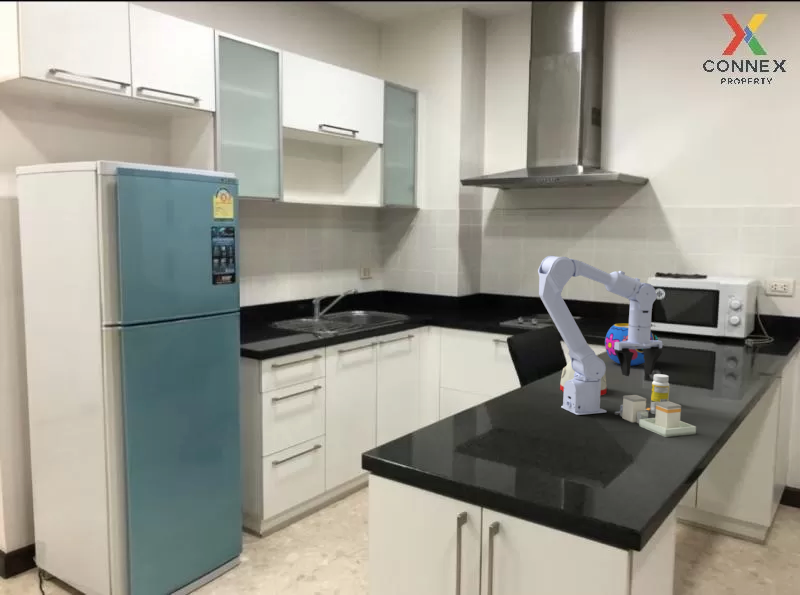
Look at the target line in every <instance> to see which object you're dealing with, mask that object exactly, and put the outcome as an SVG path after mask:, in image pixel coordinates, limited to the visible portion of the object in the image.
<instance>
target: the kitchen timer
mask: <svg viewBox="0 0 800 595" xmlns="http://www.w3.org/2000/svg"><path fill="white" fill-rule="evenodd" d="M574 374H575V371H574V370H573V369H572V366H571V359H570V360H569V361H568V363H567V364H566V366H564V367H563V368H562V371H561V378H560V383H559V384H560V387H559V390H560V391H561V390H562V391H561V392H563V393H564V384H565V382H566V381H568V380H571V379H573V378H574ZM606 377H607V376H606V373H605V374H604V376H603V377H602V378H601V392H600V396H604V395H606V394H607V389H608V388H607V378H606Z"/></svg>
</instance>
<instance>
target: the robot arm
mask: <svg viewBox="0 0 800 595" xmlns="http://www.w3.org/2000/svg"><path fill="white" fill-rule="evenodd" d="M537 273H538V276H539V277H538V295H539V298H540V300H541V301H542V303H543V305H544V307H545V309H546V310H547V312H548V314H549V316H550V318H551V320H552V322H553V323H554V325H555V327H556V329H557V331H558V332H559V334H560V336H561V338H562V340H563V341H564V343H565V345H566V347H567V349H568V356H569V358H570V360H571V366H572V369H573V370H574V371H575V374H574V378H573V379H571V380H568V381H566V382H565V384H564V392H563V394H562V396H563V397H562V398H563V399H562V405H561V407H560V408H561V409H564V410H566V411H567V412H570V413H572V414H574V415H576V416H580V415H592V414H593V415H595V414H603V413H607V410H606V409H603V408H600V407H601V395H600V392H601V378H602V377H603V376H604V374H605V375H606V371H607V368H606V366H607V365H606V364H605V361H604V360H603V359H602V358H600V357H599V356H598V355H597V354H596V352H595V351H594V350H593V349H592V348H591V346H590V345H589V344H588V343H587V340H586V339H585V337H584V336H583V333H582V331H581V329H580V328H579V326H578V324H577V323H576V321H575V319H574V317H573V315H572V313H571V312H570V310H569V308H568V305H567V304H566V301H564V298H563V296H562V292H563V291H564V290H563V289H564V287H565V286H566V284H568V282H569V281H570V280H571V278H572V277H575V278H576V277H579V276H580V277H584V278H586V279H588V280H592V281H593V282H597V283H600V284H603V285H604V287H605V289H606V291H608V292H610V293H613V294H615V295H618V296H620V297H622V298H624V299H628V301H629V310H628V311H629V315H628V324H629V329H628V341H621V342H615V345H614V349H615V353H616V355H617V357H618V359H619V362H620V364H619V365H620V369H621V374H622V376H626V377H629V376H630V375H631V374H630V373H631V366H630V365H631V360H632V357H633V354H634V353H633V352H630V350H629V349H643V352H644V359H645V363H644V369H643V370H644V373H645V374H647V375H653V371H654V369H655V366H656V363H657V361H658V360H659V358H660V357H661V355H662V353H663V349H662V348H663V342H664V341H662V340H659V339H658V340H650V331H651V328H652V312H653V310H652V309H653V304H654V302H655V301H656V300H657V297H658V293H657V291H656V288H655V287H654V286H653V285H652V284H651V283H647V282H641V278H638V277H631V276H629V275H626V272H625V271H622V270H618V271H616V270H615V271H612V272H610V273H608V272H607V271H604V270H602V269H599V268H597V267H595V266H593V265H591V264H589V263H586V262H584V261H581V260H579V259H575V258H574V259H573V258H569V257H567V256H557V255H547V256H546V257H545V258H543V259H542V261H541V263H540V265H539V267H538V268H537ZM651 332H652V331H651ZM635 346H639V347H635Z"/></svg>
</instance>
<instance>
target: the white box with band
mask: <svg viewBox="0 0 800 595" xmlns="http://www.w3.org/2000/svg"><path fill="white" fill-rule="evenodd" d="M681 412H682V405H680V404H678V403H675V402H672V401H670V400H669V401H666V402H656V414H655V417H654V418H655V425H658V426H660V427H662V428H665V429H670V428H679V427H680V421H681Z"/></svg>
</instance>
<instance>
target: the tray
mask: <svg viewBox="0 0 800 595" xmlns="http://www.w3.org/2000/svg"><path fill="white" fill-rule="evenodd" d="M638 425H639V427H641V428H643V429H645V430H648V431H650V432H653V433H654V434H657V435H659V436H662V437H664V438H668V437H677V436H689V435H696V433H697V432H696V431H697V426H696V425H693V424H690V423H687V422H685V421H682V420H680V427H679V428H670V429H665V428H662V427H660V426H658V425H655V417H648V418H647V419H640V423H638Z"/></svg>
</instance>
